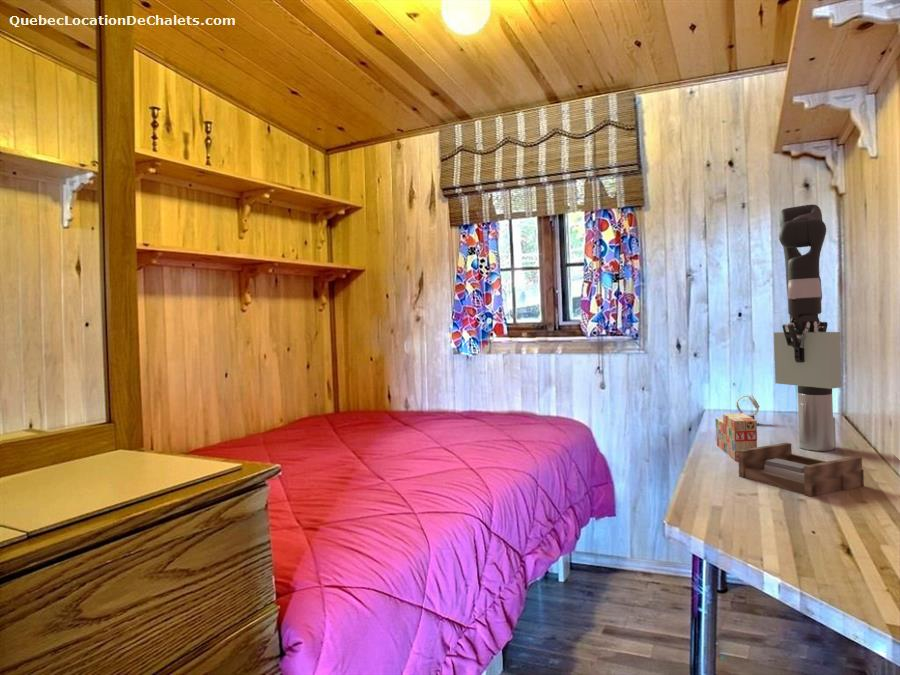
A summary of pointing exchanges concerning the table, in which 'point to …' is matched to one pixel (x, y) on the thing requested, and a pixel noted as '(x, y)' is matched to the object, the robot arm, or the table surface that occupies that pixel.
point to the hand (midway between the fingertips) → (806, 361)
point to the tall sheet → (809, 361)
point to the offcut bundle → (785, 468)
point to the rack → (816, 472)
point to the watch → (752, 403)
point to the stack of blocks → (736, 433)
